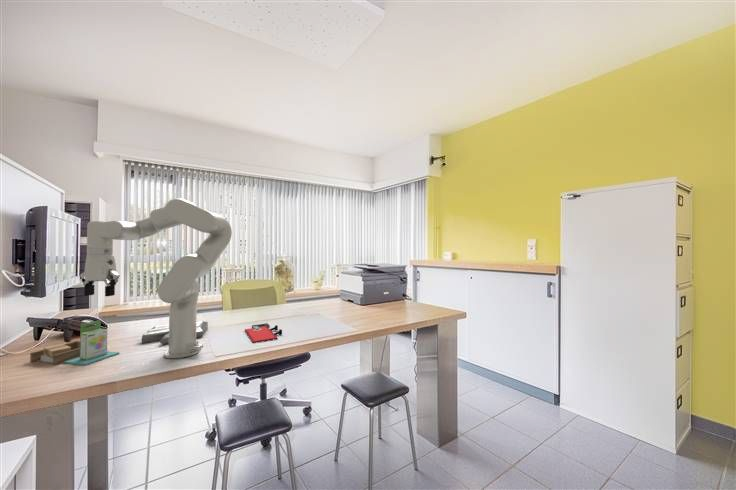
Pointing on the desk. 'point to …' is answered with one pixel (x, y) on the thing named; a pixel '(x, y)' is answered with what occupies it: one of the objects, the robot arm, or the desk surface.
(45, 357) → the grey offcut
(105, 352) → the ink box
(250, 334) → the red board with handle
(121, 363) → the desk surface
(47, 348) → the oak offcut
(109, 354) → the teal mat
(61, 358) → the tray
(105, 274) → the robot arm
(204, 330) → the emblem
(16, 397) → the desk surface
